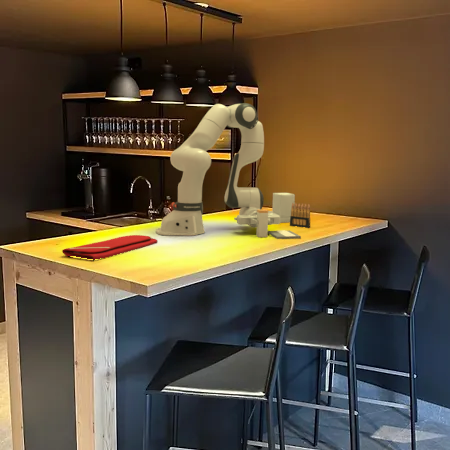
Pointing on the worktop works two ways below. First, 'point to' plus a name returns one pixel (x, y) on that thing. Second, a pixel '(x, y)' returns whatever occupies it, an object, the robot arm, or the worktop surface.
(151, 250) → the worktop surface
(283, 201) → the supplement box
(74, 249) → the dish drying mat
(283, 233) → the board
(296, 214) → the ammunition clip
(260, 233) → the orange-capped beige pillar
